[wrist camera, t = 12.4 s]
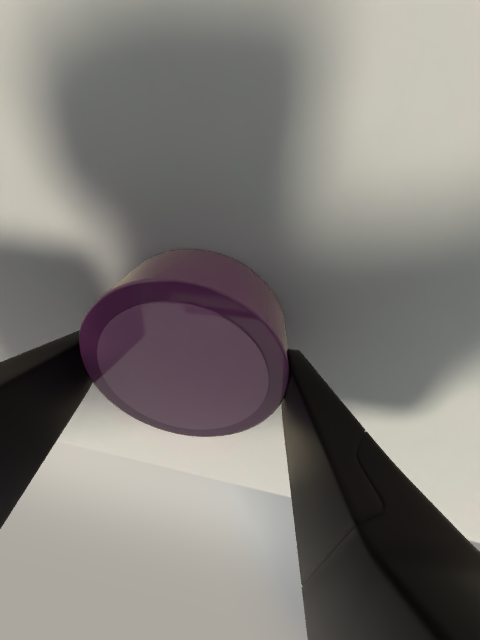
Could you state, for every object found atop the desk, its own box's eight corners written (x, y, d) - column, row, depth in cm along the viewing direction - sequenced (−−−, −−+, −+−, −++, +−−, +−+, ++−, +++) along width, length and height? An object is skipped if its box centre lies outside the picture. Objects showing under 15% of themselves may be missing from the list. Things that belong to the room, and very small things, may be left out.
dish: (133, 379, 11) (104, 427, 9) (100, 238, 8) (41, 266, 6) (271, 396, 11) (273, 449, 9) (301, 259, 8) (314, 295, 6)
